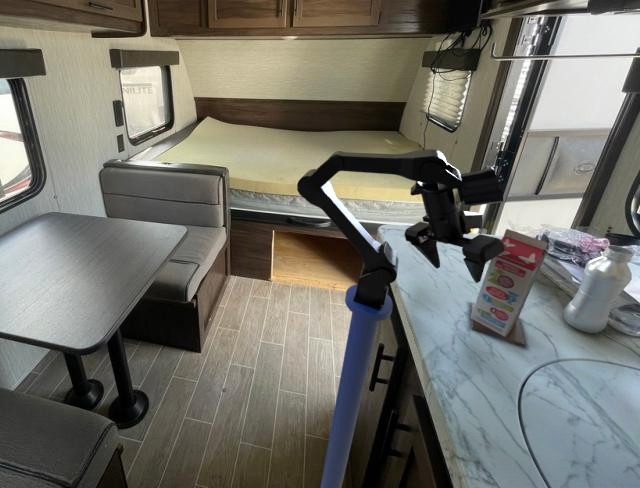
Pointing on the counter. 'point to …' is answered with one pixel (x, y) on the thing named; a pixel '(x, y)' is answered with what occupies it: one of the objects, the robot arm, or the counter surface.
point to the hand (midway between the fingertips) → (456, 274)
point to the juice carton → (508, 282)
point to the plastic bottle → (599, 290)
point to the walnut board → (512, 337)
